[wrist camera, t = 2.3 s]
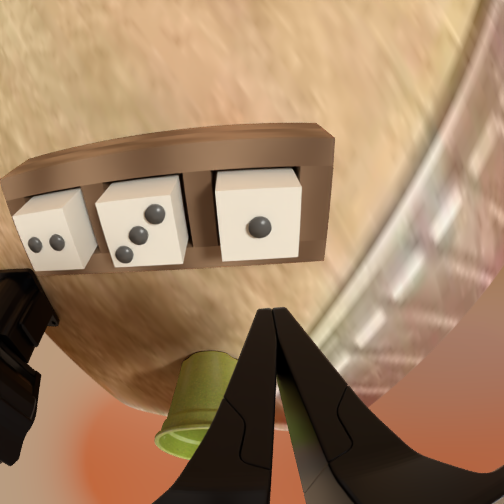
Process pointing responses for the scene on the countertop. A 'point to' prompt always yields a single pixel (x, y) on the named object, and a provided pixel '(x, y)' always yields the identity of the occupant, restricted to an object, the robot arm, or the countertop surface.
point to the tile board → (188, 182)
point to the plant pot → (195, 402)
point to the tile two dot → (56, 231)
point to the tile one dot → (258, 213)
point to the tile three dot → (144, 221)
